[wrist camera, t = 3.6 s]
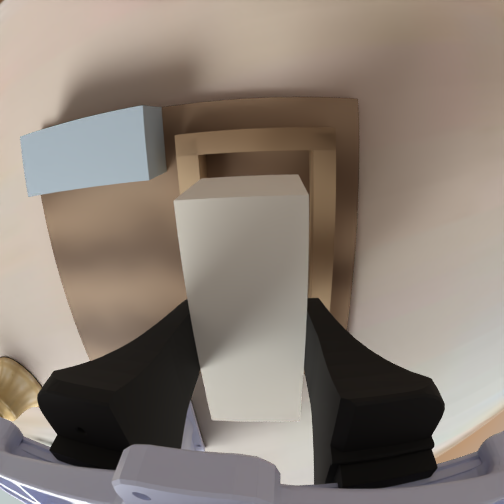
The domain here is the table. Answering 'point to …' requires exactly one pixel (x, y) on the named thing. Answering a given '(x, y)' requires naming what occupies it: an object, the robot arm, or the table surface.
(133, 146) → the pale blue rectangular block
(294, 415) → the tall white pillar block
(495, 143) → the table surface
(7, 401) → the hand bell
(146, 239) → the jig
